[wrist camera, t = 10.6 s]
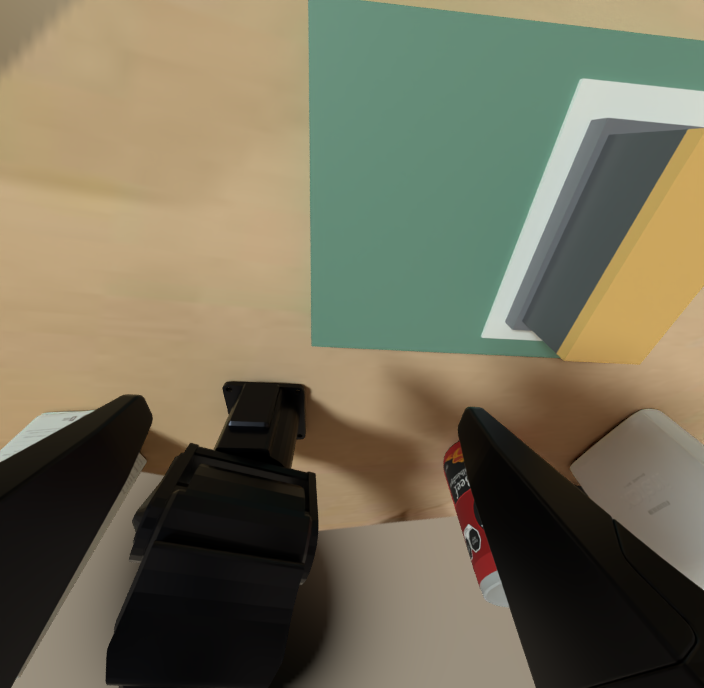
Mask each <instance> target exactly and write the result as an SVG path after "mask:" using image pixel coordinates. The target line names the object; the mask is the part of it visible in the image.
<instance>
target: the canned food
mask: <svg viewBox="0 0 704 688" xmlns="http://www.w3.org/2000/svg"><path fill="white" fill-rule="evenodd" d="M444 473H445V477H446V480H447V483H448V487H449V490H450V493H451V496H452V500H453V503H454V506H455V510H456V513H457V516H458V519H459V523H460V526H461V529H462V532H463V536H464V539H465V542H466V545H467V549H468V552H469V555H470V559H471V562H472V565H473V569H474V572H475V574H476V577H477V581H478V584H479V587H480V589H481V591H482V594H483V597H484V598H485V600H486V601H488V602H489V603H492V604H494V605H497V606H502V607H509V605H508V602H507V598H506V595H505V592H504V589H503V586H502V583H501V580H500V577H499V574H498V571H497V568H496V565H495V562H494V559H493V556H492V553H491V550H490V547H489V544H488V541H487V538H486V535H485V532H484V529H483V526H482V523H481V519H480V516H479V513H478V510H477V507H476V504H475V501H474V498H473V495H472V492H471V489H470V485H469V481H468V477H467V473H466V468H465V464H464V459H463V454H462V450H461V445H460V441H459V442H457V443H455V444H454V445H453V446H452V447H451V448H450V449H449V450H448V451H447V452H446V454H445V456H444Z"/></svg>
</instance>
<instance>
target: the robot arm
mask: <svg viewBox="0 0 704 688" xmlns="http://www.w3.org/2000/svg"><path fill="white" fill-rule="evenodd" d="M228 387H230V388H228ZM297 390H300V391H297ZM223 393H224V397H225V401H226V406H227V410H228V414H229V416H228V418H227V421H226V423H225V425H224V427H223V430H222V432H221V434H220V436H219V439H218V441H217V443H216V445H215V448H214V450H212V449H207V448H203V447H199V445H197V444H193V443H190V444H189V446H188V447H187V449H186V450H185V452H184V453H181V454H180V455H179V456H176V457H175V458H174V460H173V462H172V464H171V465H170V467H169V469H168V471H167V472H166V474H165V476H164V477H163V479H162V481H161V482H160V483H159V485H158V486H157V487H156V488H155V489H154V491H153V492H152V493H151V495H150V496H149V497H148V498H147V499H146V501H145V502H144V503H143V504H142V505H141V507H140V508H139V509H138V510H137V512H136V514H135V515H134V518H133V520H132V523H133V526H134V529H135V532H136V534H135V537H134V540H133V544H134V545H133V547H132V550H131V553H130V557H129V561H130V562H136V563H141V564H140V566H139V569H138V572H137V574H136V576H135V578H134V581H133V583H132V585H131V588H130V590H129V592H128V595H127V597H126V599H125V602H124V604H123V606H122V609H121V611H120V613H119V616H118V618H117V620H116V624H115V627H114V635H113V637H112V639H111V641H110V644H109V646H108V649H107V657H106V684H107V685H115V686H119V688H268V687H269V685H270V683H271V682H272V680H273V678H274V676H275V674H276V673H277V671H278V669H279V667H280V665H281V663H282V661H283V658H284V653H285V648H286V642H287V637H288V631H289V626H290V621H291V616H292V611H293V607H294V603H295V599H296V595H297V591H298V588H299V585H301V584H303V583H304V582H305V580H306V579H307V577H308V575H309V572H310V569H311V567H312V563H313V559H314V556H315V551H316V546H317V539H318V507H317V491H316V475H315V473H313V472H303V471H299V470H294V469H291V467H292V461H293V455H294V449H295V444H296V439H304V438H305V434H306V424H305V390H304V387H303V386H302V385H299V384H278V383H253V382H226V383H225V384H224V386H223ZM152 420H153V417H152V413H151V411H150V409H149V407H148V405H147V403H146V401H145V398H144V397H143V396H141V395H131V394H126V395H122V396H120V397H118V398H117V399H115V400H113V401H111V402H109V403H107V404H106V405H104V406H102V407H100V408H98V409H96V410H95V411H93V412H91V413H89V414H87V415H85V416H84V417H82V418H80V419H78V420H76V421H74V422H73V423H71V424H69V425H67V426H65V427H63V428H62V429H60V430H58V431H56V432H54V433H52V434H51V435H49V436H47V437H45V438H43V439H41V440H40V441H38V442H36V443H34V444H32V445H30V446H29V447H27V448H25V449H23V450H21V451H20V452H18V453H16V454H14V455H12V456H10V457H9V458H7V459H5V460H3V461H1V462H0V688H11V687H12V685H13V683H14V682H15V680H16V678H17V676H18V674H19V673H20V671H21V669H22V667H23V665H24V664H25V662H26V660H27V658H28V656H29V655H30V653H31V651H32V649H33V648H34V646H35V644H36V642H37V640H38V639H39V637H40V635H41V633H42V631H43V630H44V628H45V626H46V624H47V622H48V621H49V619H50V617H51V615H52V614H53V612H54V610H55V608H56V606H57V605H58V603H59V601H60V599H61V597H62V596H63V594H64V592H65V590H66V588H67V587H68V585H69V583H70V581H71V579H72V578H73V576H74V574H75V572H76V571H77V569H78V567H79V565H80V563H81V562H82V560H83V558H84V556H85V554H86V553H87V551H88V549H89V547H90V545H91V544H92V542H93V540H94V538H95V537H96V535H97V533H98V531H99V529H100V528H101V526H102V524H103V522H104V520H105V519H106V517H107V515H108V513H109V511H110V510H111V508H112V506H113V504H114V503H115V501H116V499H117V497H118V495H119V494H120V492H121V490H122V488H123V486H124V484H125V483H126V481H127V479H128V477H129V475H130V473H131V470H132V468H133V466H134V464H135V461H136V459H137V457H138V455H139V452H140V450H141V448H142V445H143V443H144V441H145V438H146V436H147V434H148V431H149V429H150V427H151V424H152ZM458 436H459V441H460V445H461V450H462V454H463V459H464V464H465V468H466V473H467V477H468V481H469V485H470V489H471V492H472V495H473V498H474V501H475V504H476V507H477V510H478V513H479V516H480V519H481V523H482V526H483V529H484V532H485V535H486V538H487V541H488V544H489V547H490V550H491V553H492V556H493V559H494V562H495V565H496V568H497V571H498V574H499V577H500V580H501V583H502V586H503V589H504V592H505V595H506V598H507V602H508V605H509V608H510V610H511V613H512V617H513V619H514V622H515V626H516V629H517V632H518V635H519V638H520V641H521V644H522V647H523V650H524V653H525V656H526V659H527V662H528V665H529V668H530V671H531V674H532V677H533V680H534V684H535V686H536V688H704V590H703V589H702V588H700V587H699V586H698V585H696V584H695V583H694V582H693V581H691V580H690V579H689V578H687V577H686V576H685V575H684V574H682V573H681V572H680V571H678V570H677V569H676V568H675V567H673V566H672V565H671V564H669V563H668V562H667V561H666V560H664V559H663V558H662V557H661V556H659V555H658V554H657V553H656V552H654V551H653V550H652V549H651V548H649V547H648V546H647V545H646V544H645V543H643V542H642V541H641V540H640V539H638V538H637V537H636V536H635V535H634V534H632V533H631V532H630V531H629V530H628V529H626V528H625V527H624V526H623V525H622V524H620V523H619V522H618V521H617V520H616V519H612V517H611V515H609V514H608V513H607V512H606V511H605V510H604V509H602V508H601V507H600V506H599V505H598V504H596V503H595V502H594V501H593V500H592V499H590V498H589V497H588V496H587V495H586V494H584V493H583V492H582V491H581V490H580V489H578V488H577V487H576V486H575V485H574V484H572V483H571V482H570V481H569V480H568V479H566V478H565V477H564V476H563V475H562V474H560V473H559V472H558V471H557V470H556V469H555V468H553V467H552V466H551V465H550V464H549V463H547V462H546V461H545V460H544V459H543V458H541V457H540V456H539V455H538V454H537V453H535V452H534V451H533V450H532V449H531V448H529V447H528V446H527V445H526V444H525V443H523V442H522V441H521V440H520V439H519V438H517V437H516V436H515V435H514V434H513V433H512V432H510V431H509V430H508V429H507V428H506V427H504V426H503V425H502V424H501V423H500V422H498V421H497V420H496V419H495V418H494V417H492V416H491V415H490V414H489V413H488V412H486V411H485V410H484V409H483V408H480V407H467V408H466V409H465V411H464V413H463V415H462V418H461V420H460V422H459V425H458Z"/></svg>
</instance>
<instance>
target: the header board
mask: <svg viewBox="0 0 704 688" xmlns="http://www.w3.org/2000/svg"><path fill="white" fill-rule="evenodd" d="M308 13H309V122H310V231H311V340H312V346H318V347H338V348H359V349H380V350H401V351H422V352H443V353H464V354H485V355H505V356H526V357H547V358H560V357H559V356H558V355H557V354H556V353H555V352H554V351H553V350H552V349H551V348H550V347H549V346H548V345H547V344H546V343H545V342H544V341H542V340H541V339H540V338H539V337H538V336H537V335H536V334H535V333H534V332H533V331H532V330H531V329H530V328H529V327H528V326H527V325H526V324H525V323H523V322H522V320H523V318H524V316H525V314H526V311H527V309H528V307H529V305H530V303H531V301H532V299H533V296H534V294H535V292H536V290H537V288H538V286H539V284H540V281H541V279H542V277H543V275H544V273H545V271H546V269H547V266H548V264H549V262H550V260H551V258H552V256H553V254H554V251H555V249H556V247H557V245H558V243H559V241H560V239H561V236H562V234H563V232H564V230H565V228H566V226H567V224H568V221H569V219H570V217H571V215H572V213H573V211H574V209H575V206H576V204H577V202H578V200H579V198H580V196H581V194H582V191H583V189H584V187H585V185H586V183H587V181H588V179H589V176H590V174H591V172H592V170H593V168H594V166H595V164H596V161H597V159H598V157H599V155H600V153H601V151H602V148H603V146H604V144H605V142H606V140H607V138H608V136H609V135H613V134H627V133H641V132H656V131H670V130H684V129H698V128H704V41H701V40H693V39H684V38H676V37H667V36H659V35H650V34H642V33H633V32H625V31H616V30H608V29H599V28H591V27H582V26H574V25H566V24H557V23H549V22H540V21H532V20H523V19H515V18H506V17H498V16H489V15H481V14H472V13H464V12H455V11H447V10H438V9H430V8H421V7H413V6H405V5H396V4H388V3H379V2H371V1H362V0H308Z"/></svg>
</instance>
